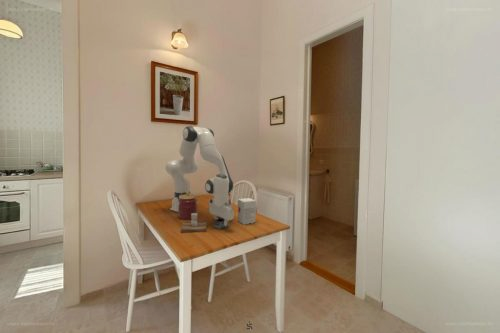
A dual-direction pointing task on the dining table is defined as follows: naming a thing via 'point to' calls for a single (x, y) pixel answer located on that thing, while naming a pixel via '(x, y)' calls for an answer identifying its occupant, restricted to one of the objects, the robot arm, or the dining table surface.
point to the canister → (187, 206)
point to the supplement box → (246, 210)
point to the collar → (219, 223)
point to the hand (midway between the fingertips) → (220, 223)
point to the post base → (193, 229)
